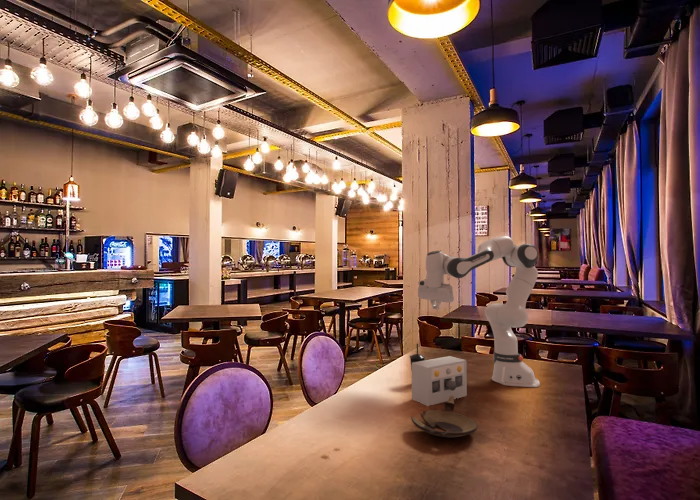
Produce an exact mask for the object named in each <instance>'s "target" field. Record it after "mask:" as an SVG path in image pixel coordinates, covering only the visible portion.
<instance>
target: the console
mask: <svg viewBox="0 0 700 500" xmlns="http://www.w3.org/2000/svg"><path fill="white" fill-rule="evenodd" d="M456 376H458V377H461V379H462V383H461V385H460V386H456V388H455V390H453V391H452V390H449V389H446V388H445V381H446V380H448V379H449V380H452V381H455V377H456ZM467 380H468V379H467V359H462V358H458V357H454V356H451V355H447V356H443V357H437V358H432V359H426V360H424V361H419V362H413V363H412V371H411V400H412V399H413V401H414V402H418V403H419V402H420V404H422V405H424V406H426V407H430V405H431V406H434V405H438V404H443V403H445V402H447V401H448V400H449V398H450V396H453V397H454V400H456V398H457V399H459V398H463V397H464V398H465V397H467V395H468V393H467V390H468V389H467V388H468V386H467V385H468V384H467ZM434 381H436V382H438V383H439V384H440V388H439V390H438V391H437V392H435V391H433V390H432V382H434Z"/></svg>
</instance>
